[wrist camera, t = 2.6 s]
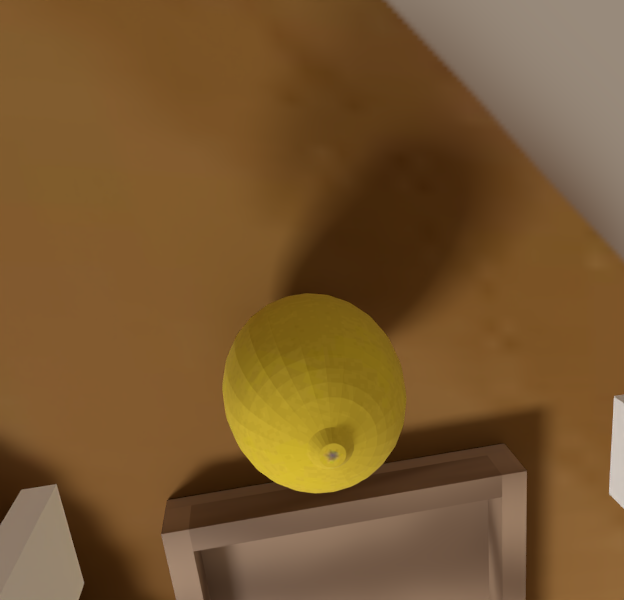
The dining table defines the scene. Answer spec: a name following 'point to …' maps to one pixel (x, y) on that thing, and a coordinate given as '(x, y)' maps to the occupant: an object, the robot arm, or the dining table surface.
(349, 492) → the organizer
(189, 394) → the dining table surface
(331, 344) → the lemon
